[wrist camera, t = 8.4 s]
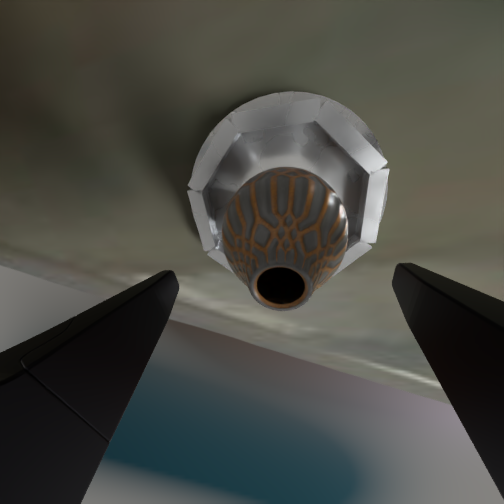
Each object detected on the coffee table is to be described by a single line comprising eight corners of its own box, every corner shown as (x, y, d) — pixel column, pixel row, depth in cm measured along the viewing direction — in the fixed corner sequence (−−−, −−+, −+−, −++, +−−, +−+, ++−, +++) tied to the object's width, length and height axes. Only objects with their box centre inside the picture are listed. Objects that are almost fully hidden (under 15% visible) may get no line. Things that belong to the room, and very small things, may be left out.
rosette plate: (402, 71, 11) (426, 59, 9) (366, 276, 18) (375, 293, 16) (171, 115, 14) (153, 112, 12) (216, 279, 21) (209, 294, 19)
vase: (317, 257, 16) (344, 360, 9) (234, 244, 17) (194, 332, 10) (346, 166, 13) (429, 213, 5) (240, 153, 13) (183, 180, 6)
